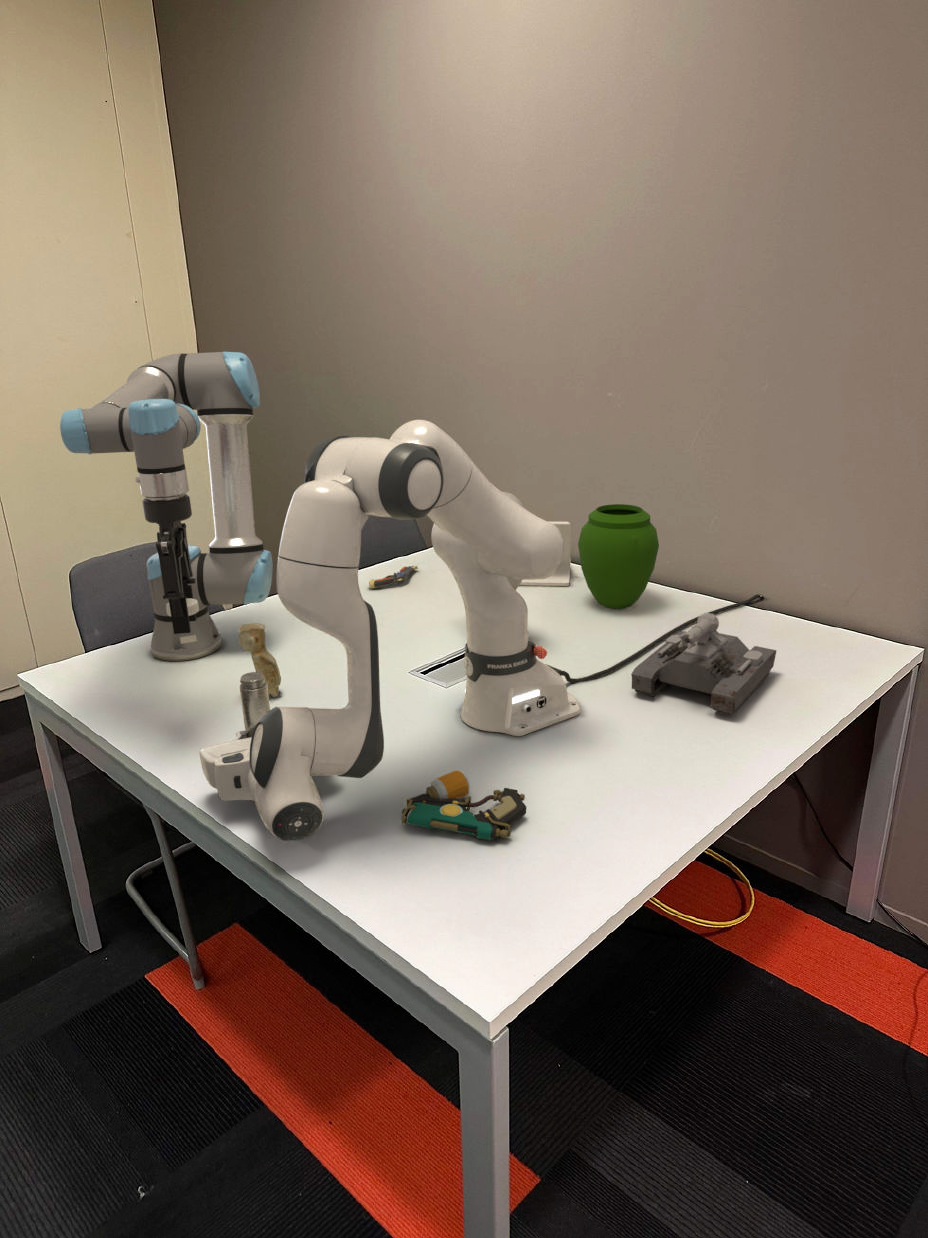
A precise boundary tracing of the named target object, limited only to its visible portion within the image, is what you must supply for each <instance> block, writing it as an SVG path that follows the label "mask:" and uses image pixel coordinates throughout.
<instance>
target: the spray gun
mask: <svg viewBox="0 0 928 1238" xmlns="http://www.w3.org/2000/svg"><path fill="white" fill-rule="evenodd" d="M470 789H471V786H470V782H469V779H468V777H467V775H466V774H465V773H464V772H462V771H461V770H459V769H457V770H453V771H450V772H448V773H446V774H443V775H441V776H439V777H437V778H434V779H433V780H432V781H431V782H430V783H429V786H427V787H426V789H425V793H422V794H418V795H415V796H412V797H409V798H407V799H406V800H405V801H406V803H405V804H406V807H405V808H403V809H402V810H401V825H406V824H408V825H412V826H417V827H422V828H426V829H439V830H445V831H449V832H455V833H461V834H465V835H471V836H473V837H476V838H477V839H481V840H487V841H493V840H496V838H497V837H501V838H503V839H507V838H509V837H511V833H512V828H511V825H513V824H514V823H515V822H517V821H518V820H519V819H521V818H522V817H523V816H524V815H526V814H527V805H526V803H524V802H523V801H525V799H526V795H525V794H524V793H519V792H518V791H519V790H518V789H514V788H510V787H509V788H508V787H504V788H503V790H500V789H494V790H493V794H489V795H487V796H484V797H483V798H482V799H480V800H478V801H475V802H472V796H471V795H468V794H469V792H470ZM464 797H466V798H465V800H464V799H461V798H464ZM489 801H493V802H499V805H497V806H495V807H493V808H492V809H486V812H484V811H483V810H482V809H480V810H478V813H476V814H474V813H473V812H471V811H470V810H471V809H472V808H477V807H480V806H482V805H484V804H486V803H487V802H489Z"/></svg>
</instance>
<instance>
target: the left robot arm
mask: <svg viewBox="0 0 928 1238" xmlns="http://www.w3.org/2000/svg"><path fill="white" fill-rule="evenodd" d="M260 405H261V393H260V387H259V382H258V378H257V375H256V371H255V368H254V365H253V363H252V361H251V359H250V358H249V356H248V355H247V354H245V353H243V352H237V351H214V352H213V351H211V352H193V353H192V352H191V353H189V352H188V353H182V352H181V353H180V352H179V353H172V354H167V355H164V356H161V357H158V358H156V359H153V360H151V361H149V362H147V363H144V364H143V365H140V366H139V367H138V368H135V369H134V370H133V371H131V373H130V374H129V376H128V377H127V380H126V383H124V384H123V385H121V386H120V387H119V388H117V389H116V390H114V391H113V392H112V393H110V394H109V395H107V396H106V397H105V398H103V399H102V400H101V401H99V402H97V403H96V404H95V405H93V406H91V407H90V408H81V407H79V408H76V409H75V408H74V409H67V410H65V411H64V412H63V413H62V414H61V417H60V423H59V430H60V431H59V432H60V436H61V439H62V442H63V445H64V446H65V448H66V449H67V450H68V451H69V452H71V453H73V454H88V455H92V454H93V455H94V454H110V453H116V454H117V453H134V458H135V464H136V471H137V474H138V475H137V476H136V477H135V482H136V483H137V484H139V488H140V494H141V496H142V497H144V498H143V499H142V501H141V503H142V508H143V515H144V519H145V521H147V522H148V523H151V524H157V525H158V531H159V532H157V533H156V542H155V548H156V553H154V554H153V555H151V556H149V558H148V559H147V561H146V572H147V578H146V579H147V581H148V586H149V591H150V598H151V603H152V609H153V615H154V626H153V631H152V636H151V642H150V650H151V654H152V656H153V657H154V658H156V659H158V660H162V661H169V662H181V661H190V660H195V659H200V658H203V657H206V656H208V655H211V654H213V653H215V652H216V651H218V650H219V649H220V648H221V646H222V638H221V637H222V636H221V634H220V632H219V630H218V628H217V626H216V624H215V622H214V621H213V619H212V616H211V615H210V612H209V606H222V605H223V606H224V605H225V606H226V605H242V604H243V605H244V606H245V605H246V606H247V605H250V604H260V603H263V602H264V601H266V599H267V598H268V596H269V594H270V591H271V586H272V580H273V570H274V569H273V566H274V565H273V563H274V562H273V555H272V552H271V551H270V550H268V549H264V542H263V540H261V538H259V537H258V535H256V527H255V526H256V525H255V512H254V500H253V489H252V475H251V463H250V462H251V461H250V449H249V436H248V424H249V423H250V421H251V420H252V419H253V418H254V409H257V408H259V407H260ZM195 411H196V412H195ZM201 423H202V424H203V425H204V426H205V433H206V434H205V435H206V446H207V456H208V457H207V458H208V466H209V468H208V469H209V479H210V489H211V491H210V492H211V502H212V503H211V504H212V514H213V524H214V536H215V537H214V539H213V540H212V541H211V542H210V543H209V544H208V549H209V550H208V551H209V552H202V551H201V549H200V547H199V546H198V545H193V544H188V543H189V542H188V535H187V525H186V522H183V521H186V520H189V519H190V518H191V517H192V515H193V512H192V511H193V510H192V504H191V498H190V496H189V495H188V494H187V493H188V492H189V491H190V487H189V481H188V474H187V468H186V464H185V457H184V456H185V455H184V449H187V448H189V447H190V446H192V445H193V444H194V443H195V441H196V440H197V439H198V438H199V436H200V434H201V429H202V428H201V426H202V425H201ZM186 598H191V599H196V600H197V601H198V605H199V611H198V612H197V613H196V614H193V615H190V616H189V615H188V608H187V602H186ZM168 602H169V605H170V611H171V616H168V614H167V611H166V604H167V603H168Z"/></svg>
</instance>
